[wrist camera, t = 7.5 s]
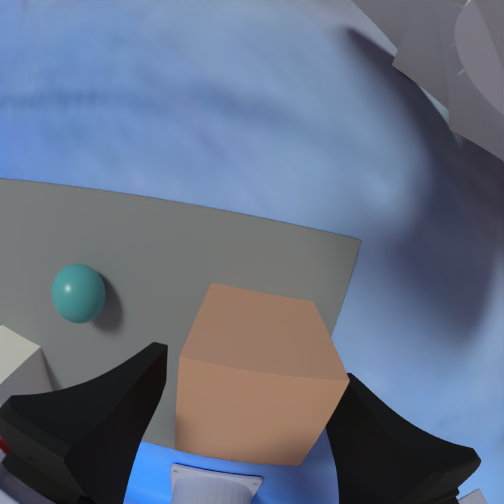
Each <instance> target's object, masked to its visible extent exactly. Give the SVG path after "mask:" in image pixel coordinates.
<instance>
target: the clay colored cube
mask: <svg viewBox="0 0 504 504" xmlns="http://www.w3.org/2000/svg"><path fill="white" fill-rule="evenodd" d="M349 382H350V380H349V378H348V375H347V373H346V371H345V368H344V366H343V364H342V362H341V360H340V357H339V355H338V353H337V351H336V348H335V346H334V344H333V342H332V340H331V337H330V335H329V333H328V331H327V329H326V327H325V324H324V322H323V320H322V318H321V316H320V314H319V312H318V310H317V307H316V305H315V303H314V302H312V301H306V300H300V299H295V298H289V297H283V296H278V295H272V294H267V293H261V292H256V291H251V290H246V289H240V288H235V287H230V286H225V285H220V284H215V283H211V284H210V287H209V289H208V291H207V293H206V296H205V298H204V300H203V303H202V305H201V307H200V309H199V312H198V314H197V316H196V319H195V321H194V323H193V326H192V328H191V330H190V333H189V335H188V337H187V340H186V342H185V345H184V347H183V349H182V352H181V354H180V357H179V369H178V384H177V401H176V424H175V450H178V451H182V452H186V453H191V454H196V455H201V456H206V457H211V458H217V459H223V460H230V461H238V462H246V463H256V464H269V465H290V466H300V465H301V463H302V462H303V461H304V459H305V458H306V456H307V455H308V453H309V452H310V450H311V448H312V447H313V445H314V444H315V442H316V441H317V439H318V437H319V436H320V434H321V432H322V431H323V429H324V427H325V426H326V424H327V422H328V421H329V419H330V417H331V415H332V414H333V412H334V410H335V408H336V406H337V405H338V403H339V401H340V399H341V397H342V395H343V393H344V391H345V389H346V388H347V386H348V384H349Z"/></svg>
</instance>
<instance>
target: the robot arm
mask: <svg viewBox="0 0 504 504" xmlns="http://www.w3.org/2000/svg"><path fill="white" fill-rule="evenodd" d="M167 357H168V345H166V344H162V343H158V342H152V343H151V344H149V345H148V346H147V347H145V348H144V349H142V350H141V351H140V352H138V353H137V354H135V355H134V356H132V357H131V358H129V359H128V360H126V361H125V362H123V363H122V364H120V365H118V366H117V367H115V368H113V369H111V370H109V371H108V372H106V373H104V374H102V375H100V376H98V377H96V378H94V379H91V380H89V381H86V382H84V383H81V384H78V385H75V386H71V387H68V388H65V389H61V390H56V391H52V392H46V393H39V394H28V395H11V396H10V397H9V398H8V399H7V400H6V401H5V403H4V404H3V405H2V406H1V407H0V436H1V437H2V439H3V440H4V442H5V443H6V445H7V446H8V448H9V449H10V452H9V453H8V455H6V454H5V453H4V452H3V451H2V450H1V449H0V504H123V501H124V497H125V493H126V489H127V485H128V481H129V477H130V474H131V470H132V467H133V463H134V460H135V457H136V454H137V451H138V448H139V445H140V442H141V440H142V438H143V436H144V433H145V431H146V429H147V427H148V425H149V423H150V421H151V419H152V417H153V415H154V413H155V411H156V408H157V406H158V404H159V402H160V400H161V397H162V394H163V391H164V388H165V384H166V381H167ZM347 375H348V378H349V380H350V382H349V384H348V386H347V388H346V389H345V391H344V393H343V395H342V397H341V399H340V401H339V403H338V405H337V406H336V408H335V410H334V412H333V414H332V415H331V417H330V419H329V421H328V422H327V424H326V430H327V434H328V438H329V442H330V445H331V449H332V453H333V457H334V461H335V465H336V470H337V479H338V490H339V504H487V502H486V500H485V498H484V496H483V494H482V493H481V491H480V489H476V490H475V491H473V492H471V493H469V494H467V495H466V496H464V497H462V498H461V499H459V500H457V498H456V496H457V495H458V494H459V490H458V487H459V486H460V485H461V484H462V483H463V482H464V481H465V480H466V479H468V478H469V477H470V476H471V475H472V473H474V472H475V471H476V469H477V468H478V467H479V465H480V463H481V459H480V458H479V456H478V455H477V453H476V451H475V450H474V449H473V448H470V447H465V446H461V445H457V444H454V443H451V442H448V441H445V440H443V439H440V438H438V437H435V436H433V435H431V434H429V433H427V432H425V431H423V430H421V429H420V428H418V427H416V426H414V425H413V424H411V423H410V422H408V421H407V420H405V419H404V418H402V417H401V416H400V415H398V414H397V413H396V412H395V411H393V410H392V409H391V408H389V407H388V406H387V405H386V404H385V403H384V402H382V401H381V400H380V399H379V398H378V397H377V396H376V395H375V394H374V393H373V392H372V391H370V390H369V389H368V388H367V387H366V386H365V385H364V384H363V383H362V382H361V381H360V380H359V379H358V378H356V377H355V376H354V375H353V374H352V373H347ZM261 484H262V478H261V477H255V476H244V475H236V474H228V473H221V472H215V471H209V470H203V469H198V468H193V467H188V466H184V465H179V464H172V465H171V488H172V499H171V503H170V504H251V500H252V498H253V497H254V495H255V493H256V492H257V490H258V489H259V487H260V485H261Z"/></svg>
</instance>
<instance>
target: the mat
mask: <svg viewBox="0 0 504 504" xmlns="http://www.w3.org/2000/svg"><path fill="white" fill-rule="evenodd" d="M360 242H361V240H359V239H357V238H353V237H349V236H344V235H340V234H336V233H331V232H327V231H323V230H318V229H314V228H309V227H305V226H300V225H295V224H291V223H286V222H281V221H276V220H272V219H267V218H262V217H257V216H252V215H247V214H242V213H237V212H232V211H226V210H221V209H216V208H210V207H205V206H199V205H194V204H188V203H182V202H176V201H170V200H165V199H158V198H152V197H146V196H140V195H133V194H127V193H120V192H113V191H106V190H99V189H92V188H84V187H77V186H69V185H61V184H52V183H44V182H34V181H25V180H15V179H4V178H0V326H1V325H3V326H5V327H7V328H8V329H10V330H12V331H13V332H15V333H17V334H18V335H20V336H22V337H24V338H25V339H27V340H29V341H31V342H33V343H35V344H36V345H38V346H40V347H41V351H42V355H43V359H44V363H45V366H46V370H47V374H48V377H49V380H50V384H51V387H52V390H53V391H56V390H61V389H65V388H68V387H71V386H75V385H78V384H81V383H84V382H86V381H89V380H91V379H94V378H96V377H98V376H100V375H102V374H104V373H106V372H108V371H109V370H111V369H113V368H115V367H117V366H118V365H120V364H122V363H123V362H125V361H126V360H128V359H129V358H131V357H132V356H134V355H135V354H137V353H138V352H140V351H141V350H142V349H144V348H145V347H147V346H148V345H149V344H151V343H152V342H158V343H162V344H166V345H168V357H167V381H166V384H165V388H164V391H163V394H162V397H161V400H160V402H159V404H158V406H157V408H156V411H155V413H154V415H153V417H152V419H151V421H150V423H149V425H148V427H147V429H146V431H145V433H144V436H143V438H142V440H143V441H146V442H149V443H153V444H156V445H160V446H163V447H167V448H171V449H175V424H176V401H177V384H178V369H179V357H180V354H181V352H182V349H183V347H184V345H185V342H186V340H187V337H188V335H189V333H190V330H191V328H192V326H193V323H194V321H195V319H196V316H197V314H198V312H199V309H200V307H201V305H202V303H203V300H204V298H205V296H206V293H207V291H208V289H209V287H210V284H211V283H215V284H220V285H225V286H230V287H235V288H240V289H246V290H251V291H256V292H261V293H267V294H272V295H278V296H283V297H289V298H295V299H300V300H306V301H312V302H314V303H315V305H316V307H317V310H318V312H319V314H320V316H321V318H322V320H323V322H324V324H325V327H326V329H327V331H328V333H329V335H330V337H331V335H332V332H333V329H334V326H335V324H336V321H337V318H338V315H339V312H340V309H341V306H342V303H343V300H344V297H345V294H346V291H347V288H348V284H349V281H350V278H351V275H352V271H353V268H354V264H355V261H356V257H357V254H358V250H359V246H360ZM71 264H84V265H87V266H89V267H91V268H92V269H94V270H95V271H96V272H97V273H98V274H99V276H100V277H101V279H102V281H103V283H104V286H105V291H106V299H105V304H104V307H103V309H102V311H101V313H100V314H99V315H98V316H97V317H96V318H95V319H93V320H92V321H90V322H87V323H83V324H77V323H73V322H70V321H68V320H66V319H64V318H63V317H62V316H61V315H60V314H59V313H58V311H57V310H56V308H55V306H54V304H53V301H52V296H51V288H52V283H53V281H54V278H55V276H56V275H57V273H58V272H59V271H60V270H61V269H62V268H64V267H66V266H68V265H71Z"/></svg>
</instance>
